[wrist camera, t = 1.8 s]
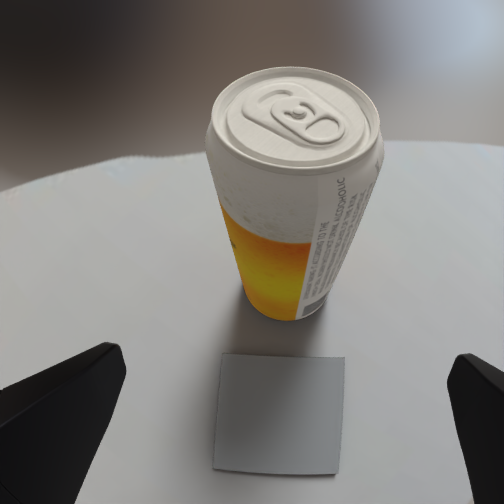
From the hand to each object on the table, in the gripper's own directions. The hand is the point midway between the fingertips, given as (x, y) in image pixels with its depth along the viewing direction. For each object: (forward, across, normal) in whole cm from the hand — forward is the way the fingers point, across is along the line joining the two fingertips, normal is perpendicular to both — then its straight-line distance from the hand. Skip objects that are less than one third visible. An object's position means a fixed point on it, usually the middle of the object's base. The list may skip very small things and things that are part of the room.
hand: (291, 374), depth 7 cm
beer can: (+15, 0, +4) cm, 15 cm away
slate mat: (+8, 0, +11) cm, 13 cm away
